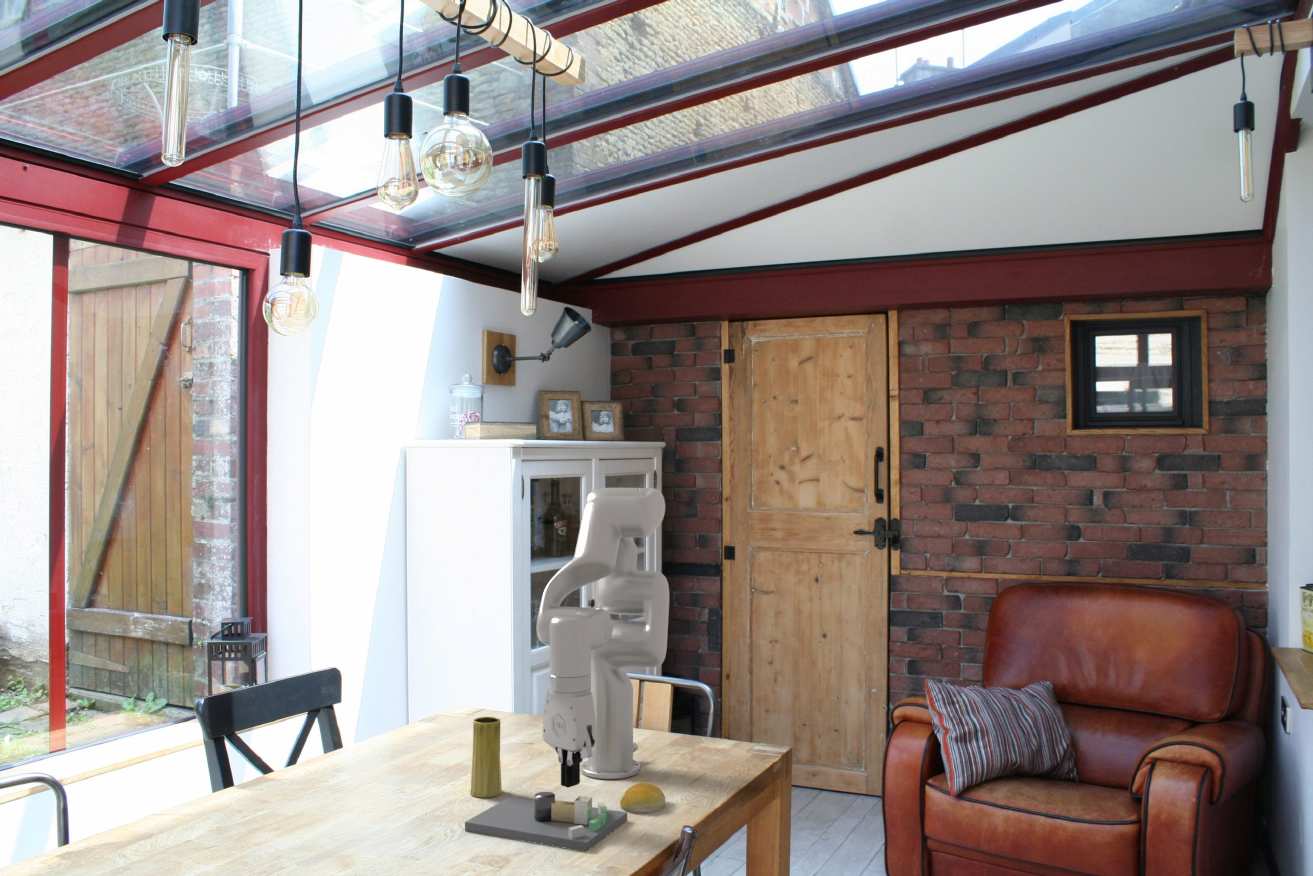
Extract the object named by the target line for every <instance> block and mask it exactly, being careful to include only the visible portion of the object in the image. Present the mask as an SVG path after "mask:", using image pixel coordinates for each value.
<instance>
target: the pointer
mask: <svg viewBox="0 0 1313 876" xmlns="http://www.w3.org/2000/svg"><path fill="white" fill-rule="evenodd" d="M534 798H535V806H534V819H535V820H537V821H550V820H554V821H563V822H572V823H574V824H582V825H588V824H589V822H590V821H591V820H592V807H593V797H592V796H581V795H579V796H578V797H577V798H576V799H574V801H569V800H568V801H566V800H557V799H556V794H555V793H554V792H553V791H540V792H537V793H535V794H534Z"/></svg>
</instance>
